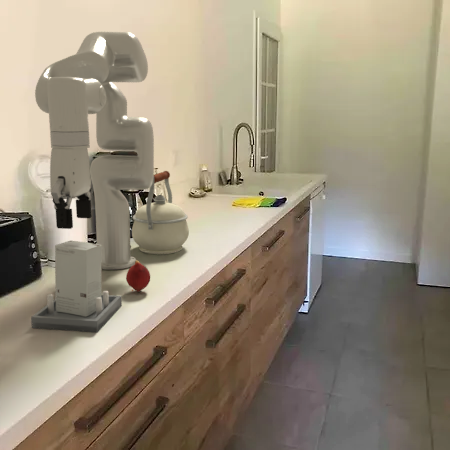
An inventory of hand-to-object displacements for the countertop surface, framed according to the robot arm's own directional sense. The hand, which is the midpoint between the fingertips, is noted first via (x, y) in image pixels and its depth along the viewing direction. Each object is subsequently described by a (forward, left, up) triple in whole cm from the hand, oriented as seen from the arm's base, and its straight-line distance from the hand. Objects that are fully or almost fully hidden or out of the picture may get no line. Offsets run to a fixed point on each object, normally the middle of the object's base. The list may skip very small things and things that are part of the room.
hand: (74, 222), depth 108 cm
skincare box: (0, 0, -20) cm, 20 cm away
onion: (-17, +8, -21) cm, 28 cm away
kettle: (-60, +3, -21) cm, 64 cm away
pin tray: (0, 0, -21) cm, 21 cm away
